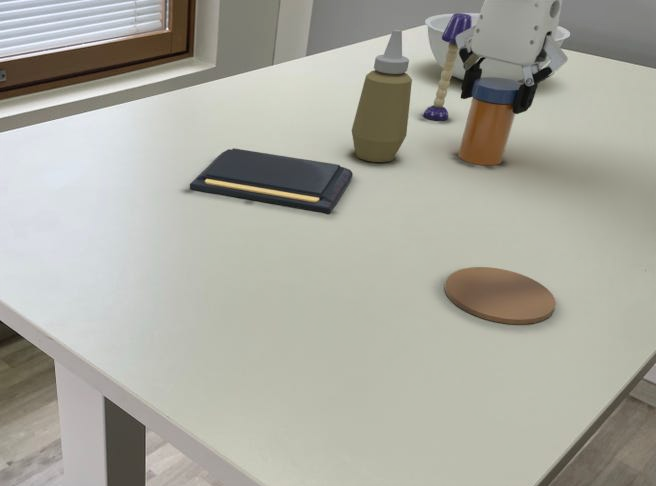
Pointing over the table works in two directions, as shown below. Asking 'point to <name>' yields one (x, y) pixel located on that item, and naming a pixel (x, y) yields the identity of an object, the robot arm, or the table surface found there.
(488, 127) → the jar
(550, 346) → the table surface
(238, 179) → the wallet
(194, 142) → the table surface
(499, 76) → the bowl
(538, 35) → the robot arm
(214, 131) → the table surface
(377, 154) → the squeeze bottle
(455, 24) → the toy lamp
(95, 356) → the table surface
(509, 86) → the lid
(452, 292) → the coaster
